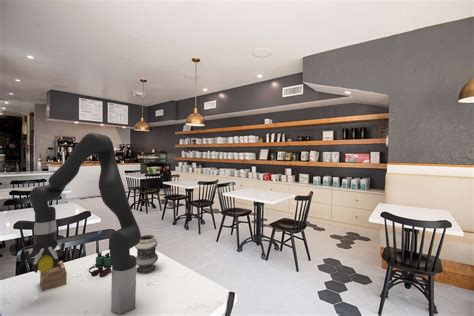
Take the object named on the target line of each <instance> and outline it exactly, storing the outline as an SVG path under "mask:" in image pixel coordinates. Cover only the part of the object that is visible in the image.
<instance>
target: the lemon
mask: <svg viewBox="0 0 474 316" xmlns="http://www.w3.org/2000/svg"><path fill="white" fill-rule="evenodd" d="M53 258H54V257H53V255H51V254H45V255H43V256H40V258H39V260H38V262H37V268H38V272H44V273H46V272H47V271H49V270H50V269H51V268H52V267H53Z"/></svg>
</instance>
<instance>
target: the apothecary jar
mask: <svg viewBox="0 0 474 316" xmlns="http://www.w3.org/2000/svg"><path fill="white" fill-rule="evenodd" d="M158 243H159V242H158V240H157V239H156V236H155V235H154V234H143V235H141V240H140V242H139V243H138V244H137V245H136V246H134V247H135V249H136V252H137V253H136V256H135V257H136V266H138V267H136V273H139V274H149V273H152V272H153V271H155V270H156V268H157V267H156V265H155V264H156V262H157V261H158V259H159V256H158V254H157V253H156V252H157V251H156V247H157V246H158Z"/></svg>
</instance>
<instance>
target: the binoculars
mask: <svg viewBox="0 0 474 316" xmlns="http://www.w3.org/2000/svg"><path fill="white" fill-rule="evenodd" d="M102 254H103V253H102V252H101V251H97V256H96V257H95V264H93V266H90V267H89V268H88V273H89V274H91V275H90V276H91V277H97V276H99V277H100V278H103V277H105V276H107V274H108V273H110V272H112V264H111V261H110V252H106V253H105V254H104V255H102ZM93 269H94V270H93ZM91 270H93V271H91Z"/></svg>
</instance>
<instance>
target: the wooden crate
mask: <svg viewBox="0 0 474 316" xmlns="http://www.w3.org/2000/svg"><path fill="white" fill-rule="evenodd" d="M39 272H40V271H39ZM67 273H68V272H67V269H66V266H65V264H64V262H63V260H60V261H59V260H58V265H57V266H56V267H55V268H54V267H52V268H51V269H50V270H49V271H47V272H46V273H44V272H40V273H39V274H40V275H39V277H40V278H39V280H40V282H39V283H40V288H41V292H42V293H43V292H46V291H49V290H52V289H55V288H59V287H62V286H66V285H67V283H68V282H67V277H68V275H67Z"/></svg>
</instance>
